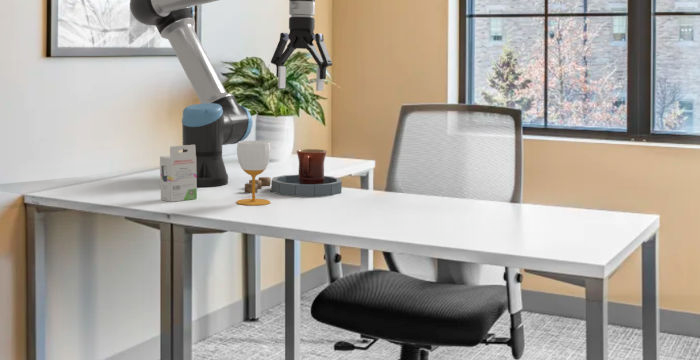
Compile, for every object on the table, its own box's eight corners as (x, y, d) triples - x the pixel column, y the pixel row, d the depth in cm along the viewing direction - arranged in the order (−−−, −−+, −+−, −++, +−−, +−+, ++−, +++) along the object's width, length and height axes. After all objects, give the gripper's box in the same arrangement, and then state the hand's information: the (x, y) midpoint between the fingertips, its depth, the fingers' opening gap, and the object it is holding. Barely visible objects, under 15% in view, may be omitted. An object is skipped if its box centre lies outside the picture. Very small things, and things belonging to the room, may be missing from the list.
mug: (300, 183, 261) (300, 148, 260) (329, 184, 260) (329, 149, 258) (289, 189, 250) (290, 153, 248) (319, 190, 248) (320, 154, 247)
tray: (258, 191, 252) (258, 180, 251) (297, 183, 269) (297, 172, 268) (317, 198, 242) (317, 187, 241) (354, 189, 259) (354, 179, 259)
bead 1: (242, 192, 250) (242, 184, 250) (249, 191, 253) (249, 182, 253) (252, 193, 248) (252, 185, 248) (260, 192, 251) (260, 183, 251)
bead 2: (246, 188, 257) (246, 180, 256) (253, 187, 260) (253, 179, 259) (256, 190, 255) (256, 181, 254) (263, 188, 258) (263, 180, 258)
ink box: (186, 196, 241) (186, 142, 238) (197, 199, 237) (197, 144, 235) (159, 199, 235) (158, 144, 232) (169, 202, 231) (169, 146, 229)
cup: (261, 206, 228) (262, 144, 226) (230, 203, 231) (230, 142, 229) (276, 201, 237) (277, 141, 234) (245, 198, 240) (246, 139, 237)
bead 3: (255, 186, 262) (256, 178, 262) (263, 184, 265) (263, 176, 265) (265, 187, 260) (265, 179, 260) (272, 185, 263) (273, 177, 263)
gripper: (259, 15, 262) (259, 87, 265) (331, 16, 249) (329, 91, 252) (274, 16, 268) (273, 87, 271) (344, 17, 255) (343, 91, 258)
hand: (300, 89), depth 261 cm, fingers open, 13 cm apart
